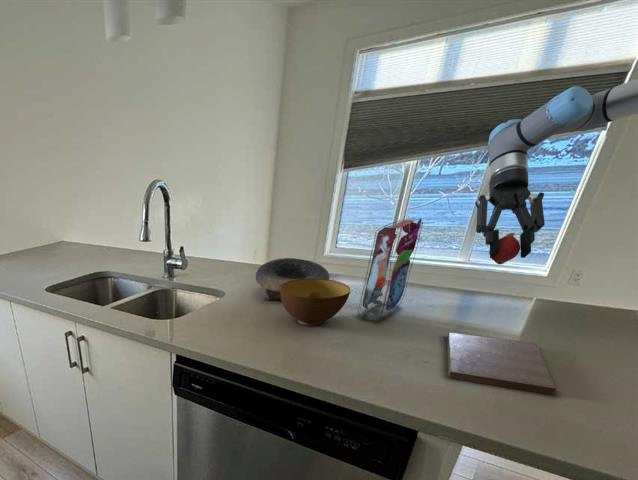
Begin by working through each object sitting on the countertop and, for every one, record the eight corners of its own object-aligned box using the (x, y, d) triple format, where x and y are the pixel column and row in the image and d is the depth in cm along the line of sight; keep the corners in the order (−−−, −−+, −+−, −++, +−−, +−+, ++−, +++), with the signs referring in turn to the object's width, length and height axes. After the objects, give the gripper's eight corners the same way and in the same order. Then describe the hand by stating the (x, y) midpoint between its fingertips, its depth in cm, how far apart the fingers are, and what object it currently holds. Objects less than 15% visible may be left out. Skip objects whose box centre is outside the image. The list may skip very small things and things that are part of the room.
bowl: (319, 307, 124) (325, 275, 119) (357, 328, 109) (365, 292, 104) (266, 315, 122) (269, 283, 117) (297, 337, 107) (302, 301, 102)
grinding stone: (239, 300, 139) (242, 272, 133) (277, 275, 151) (281, 249, 145) (303, 320, 125) (309, 290, 119) (339, 291, 138) (346, 263, 131)
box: (390, 295, 128) (411, 213, 116) (412, 299, 124) (436, 214, 112) (355, 318, 115) (375, 228, 102) (379, 323, 110) (402, 230, 98)
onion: (485, 266, 106) (496, 234, 102) (484, 261, 110) (495, 230, 106) (514, 267, 103) (527, 235, 99) (512, 262, 106) (524, 230, 103)
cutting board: (552, 395, 76) (556, 388, 75) (448, 377, 84) (450, 371, 84) (533, 349, 92) (536, 343, 91) (446, 338, 100) (448, 332, 99)
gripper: (543, 185, 107) (547, 262, 102) (458, 189, 113) (458, 262, 108) (563, 163, 100) (568, 245, 95) (472, 169, 106) (472, 246, 101)
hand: (510, 254), depth 101 cm, fingers closed on onion, 6 cm apart
